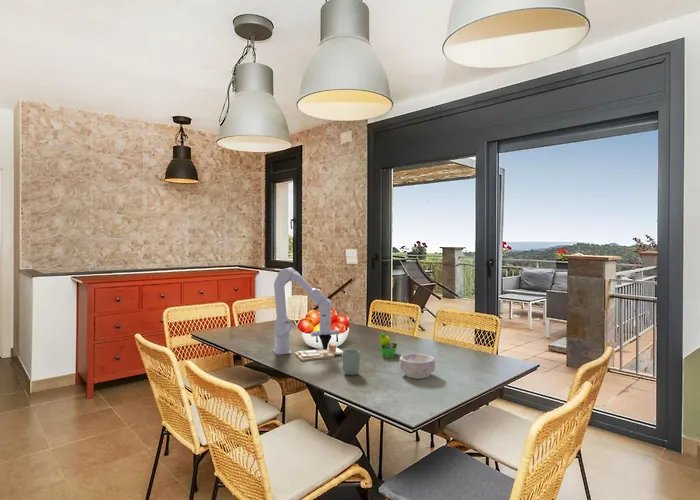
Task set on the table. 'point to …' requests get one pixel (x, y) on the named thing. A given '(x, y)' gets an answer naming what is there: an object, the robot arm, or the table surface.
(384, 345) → the fruit basket
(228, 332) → the table surface
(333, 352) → the pinkish brown block
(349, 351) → the cup
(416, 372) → the pale mottled bowl
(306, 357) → the board
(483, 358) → the table surface
